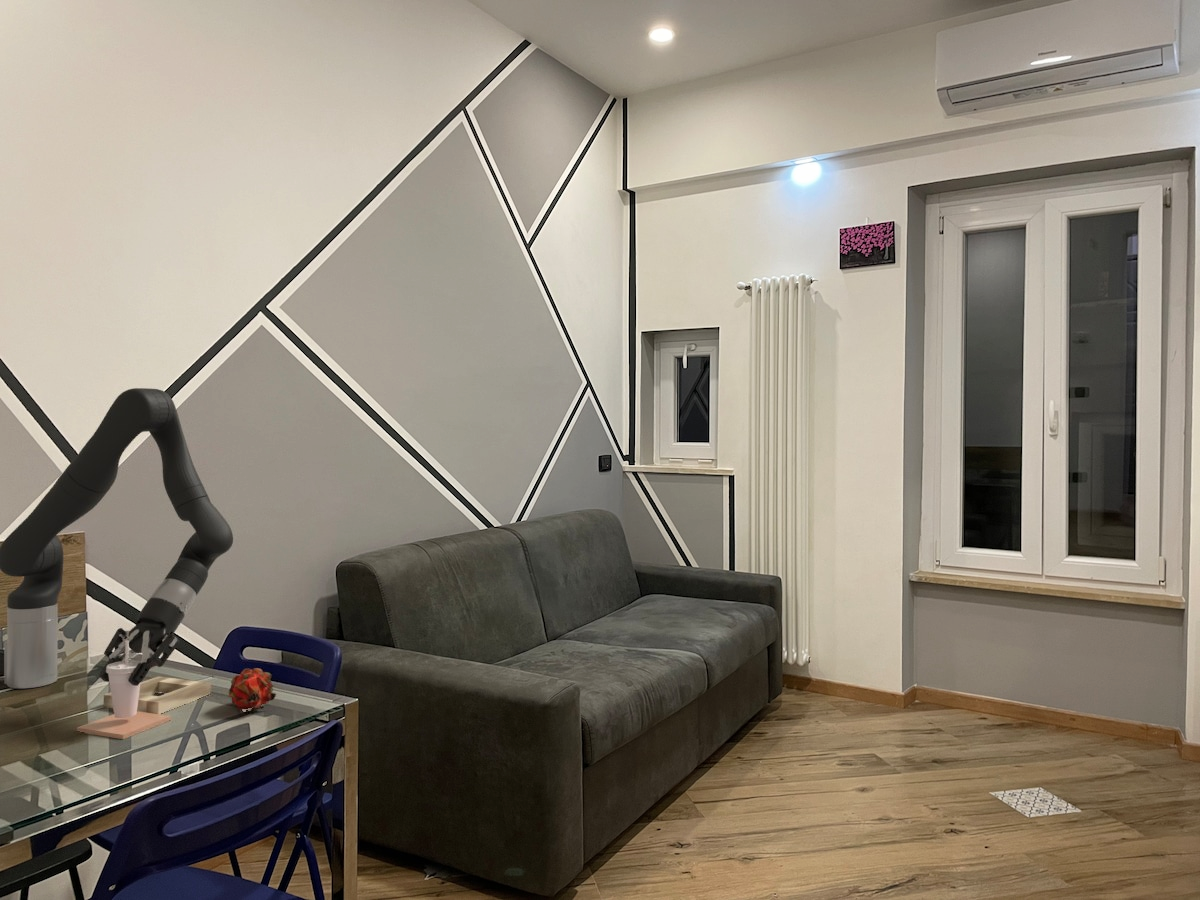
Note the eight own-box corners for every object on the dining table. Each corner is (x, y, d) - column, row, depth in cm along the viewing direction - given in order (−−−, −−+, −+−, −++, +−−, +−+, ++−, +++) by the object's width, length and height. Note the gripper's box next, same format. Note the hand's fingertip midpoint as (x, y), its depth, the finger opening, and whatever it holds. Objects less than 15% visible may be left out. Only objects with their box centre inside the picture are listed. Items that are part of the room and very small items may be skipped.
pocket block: (103, 707, 174) (103, 694, 173) (158, 687, 187) (158, 676, 187) (158, 715, 169) (158, 702, 169) (210, 694, 183) (210, 683, 182)
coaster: (77, 731, 159) (77, 727, 159) (126, 713, 170) (126, 709, 170) (123, 739, 156) (123, 734, 156) (170, 720, 166) (170, 716, 166)
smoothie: (151, 709, 166) (151, 638, 165) (130, 721, 159) (130, 646, 159) (120, 708, 167) (120, 637, 166) (98, 719, 160) (97, 645, 160)
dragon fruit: (253, 705, 181) (256, 732, 170) (218, 686, 177) (219, 712, 167) (279, 672, 182) (284, 696, 171) (245, 652, 178) (247, 676, 168)
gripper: (128, 593, 172) (76, 667, 161) (186, 599, 167) (136, 675, 156) (149, 614, 177) (100, 687, 166) (206, 620, 173) (159, 695, 162)
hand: (118, 681), depth 161 cm, fingers closed on smoothie, 6 cm apart
